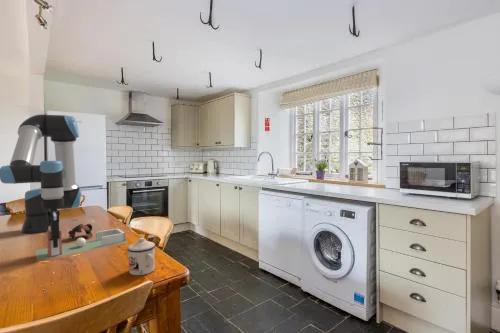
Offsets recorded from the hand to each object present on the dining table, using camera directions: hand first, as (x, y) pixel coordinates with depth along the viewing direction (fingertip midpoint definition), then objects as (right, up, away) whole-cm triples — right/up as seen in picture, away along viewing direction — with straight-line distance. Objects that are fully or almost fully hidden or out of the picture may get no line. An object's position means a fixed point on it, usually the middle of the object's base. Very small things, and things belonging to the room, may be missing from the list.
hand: (54, 253), depth 114 cm
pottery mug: (-3, 0, +24) cm, 24 cm away
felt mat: (+6, 0, +10) cm, 12 cm away
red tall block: (0, 0, 0) cm, 0 cm away
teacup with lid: (+44, -1, -17) cm, 47 cm away
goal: (+14, 0, +18) cm, 23 cm away
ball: (+5, +2, +9) cm, 11 cm away
